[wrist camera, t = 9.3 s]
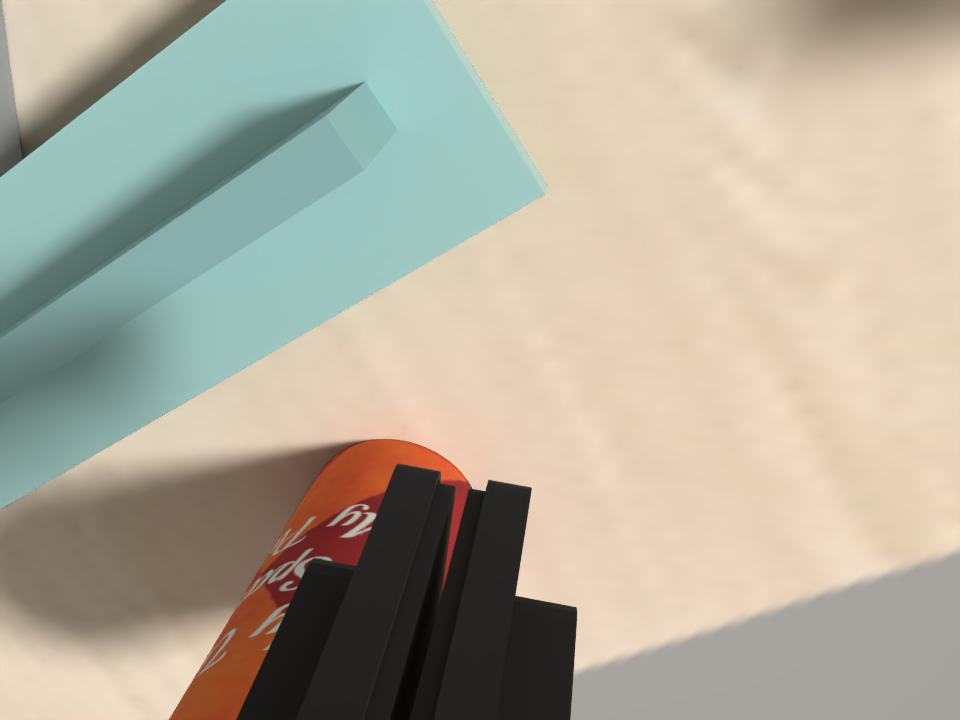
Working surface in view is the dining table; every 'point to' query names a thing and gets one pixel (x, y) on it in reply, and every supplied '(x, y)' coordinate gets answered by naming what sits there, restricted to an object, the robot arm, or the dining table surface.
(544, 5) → the dining table surface
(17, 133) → the grey frame
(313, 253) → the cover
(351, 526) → the paper cup
